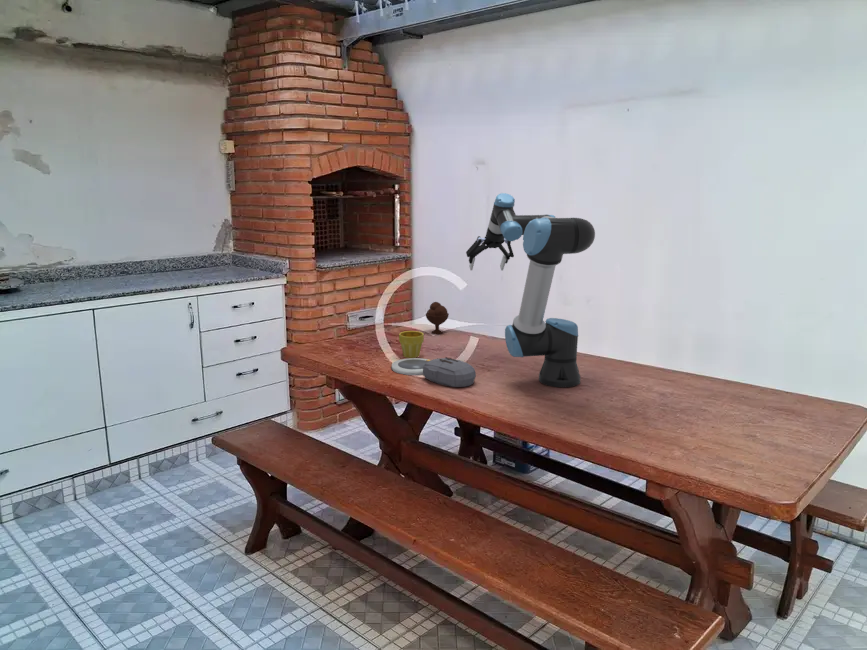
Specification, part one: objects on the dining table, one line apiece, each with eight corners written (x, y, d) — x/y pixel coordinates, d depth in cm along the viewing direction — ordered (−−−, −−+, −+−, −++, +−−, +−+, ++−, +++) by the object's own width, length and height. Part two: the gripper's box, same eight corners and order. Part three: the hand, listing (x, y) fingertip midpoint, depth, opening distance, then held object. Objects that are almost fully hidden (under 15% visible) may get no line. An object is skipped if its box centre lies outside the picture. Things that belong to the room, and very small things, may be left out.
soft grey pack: (417, 380, 244) (458, 392, 231) (417, 358, 242) (458, 369, 229) (444, 371, 255) (484, 382, 242) (444, 350, 253) (485, 360, 240)
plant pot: (423, 359, 270) (423, 336, 268) (398, 359, 270) (398, 336, 268) (424, 352, 280) (424, 330, 278) (400, 352, 280) (399, 330, 278)
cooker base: (446, 368, 258) (446, 364, 257) (411, 378, 246) (411, 373, 246) (417, 359, 271) (417, 354, 270) (382, 367, 259) (382, 363, 259)
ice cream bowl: (423, 334, 311) (423, 303, 307) (430, 329, 321) (430, 299, 318) (444, 336, 308) (444, 305, 304) (450, 331, 318) (451, 300, 315)
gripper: (524, 223, 267) (512, 262, 282) (465, 222, 261) (456, 262, 277) (528, 235, 262) (516, 274, 277) (468, 234, 256) (459, 274, 272)
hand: (486, 268), depth 277 cm, fingers open, 13 cm apart
